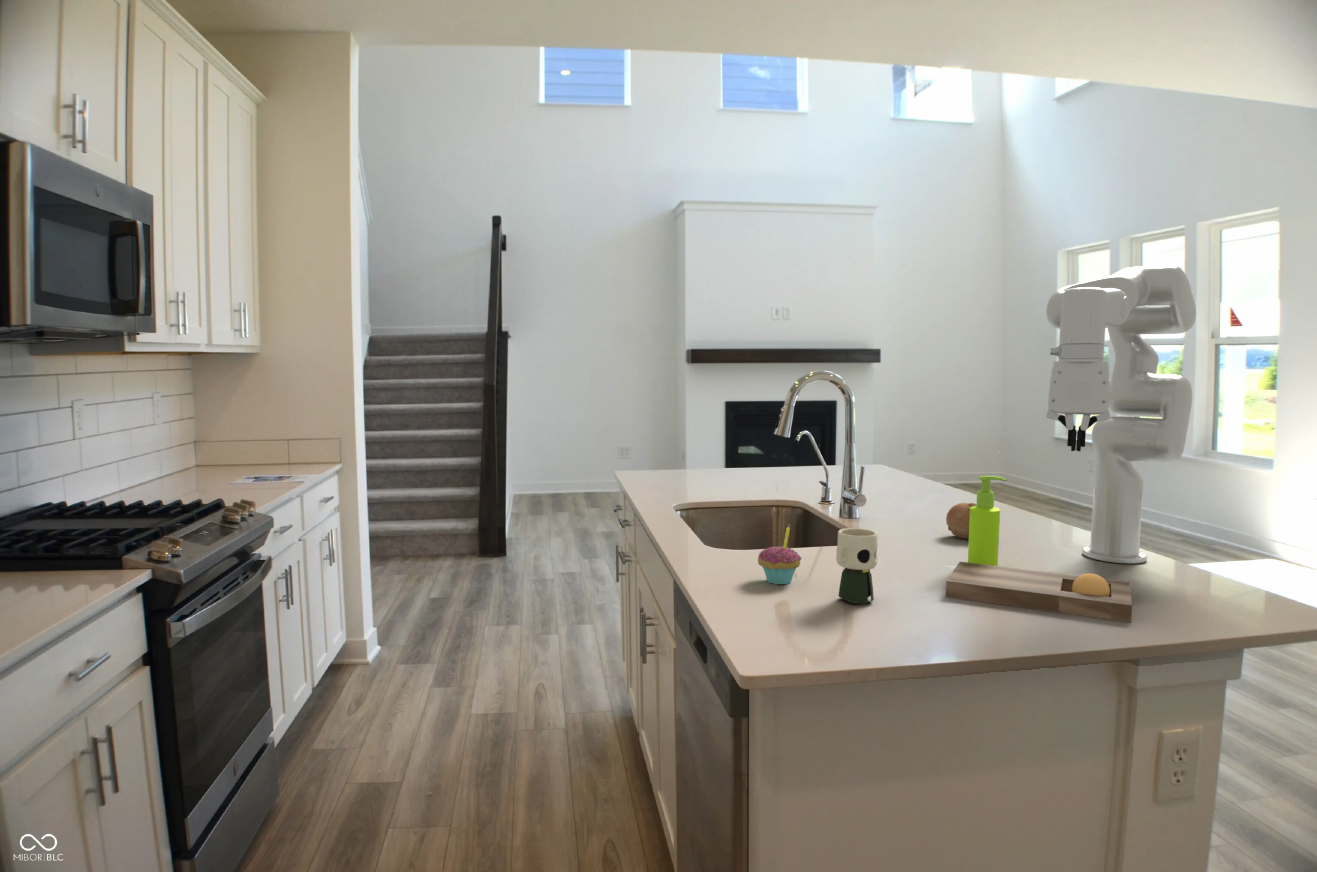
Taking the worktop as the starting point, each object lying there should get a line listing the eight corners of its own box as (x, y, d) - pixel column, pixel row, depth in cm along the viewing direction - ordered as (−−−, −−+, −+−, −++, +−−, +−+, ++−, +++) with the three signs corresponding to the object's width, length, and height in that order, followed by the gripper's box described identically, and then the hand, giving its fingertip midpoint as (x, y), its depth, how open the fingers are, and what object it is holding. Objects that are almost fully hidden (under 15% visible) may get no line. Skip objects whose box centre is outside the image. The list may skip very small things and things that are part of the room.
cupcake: (805, 578, 160) (806, 520, 159) (793, 589, 153) (794, 529, 152) (764, 573, 164) (765, 517, 163) (751, 584, 156) (752, 525, 155)
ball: (1092, 576, 139) (1099, 563, 143) (1061, 588, 143) (1069, 575, 147) (1113, 605, 138) (1120, 591, 142) (1082, 617, 142) (1089, 603, 146)
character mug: (852, 611, 140) (853, 539, 138) (821, 601, 145) (822, 532, 144) (890, 600, 146) (892, 531, 145) (859, 591, 152) (861, 524, 151)
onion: (980, 552, 194) (998, 519, 190) (943, 541, 194) (961, 509, 189) (971, 530, 203) (988, 499, 198) (936, 520, 202) (952, 488, 198)
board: (959, 575, 162) (959, 561, 162) (1128, 597, 148) (1129, 581, 148) (945, 596, 149) (946, 580, 148) (1131, 622, 134) (1132, 605, 134)
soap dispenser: (1005, 573, 164) (1009, 478, 162) (970, 572, 165) (974, 477, 163) (999, 566, 170) (1003, 474, 168) (965, 564, 171) (968, 473, 169)
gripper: (1035, 354, 149) (1031, 450, 151) (1127, 354, 142) (1121, 455, 144) (1038, 354, 156) (1034, 446, 158) (1126, 354, 149) (1120, 450, 150)
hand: (1075, 450), depth 151 cm, fingers closed
